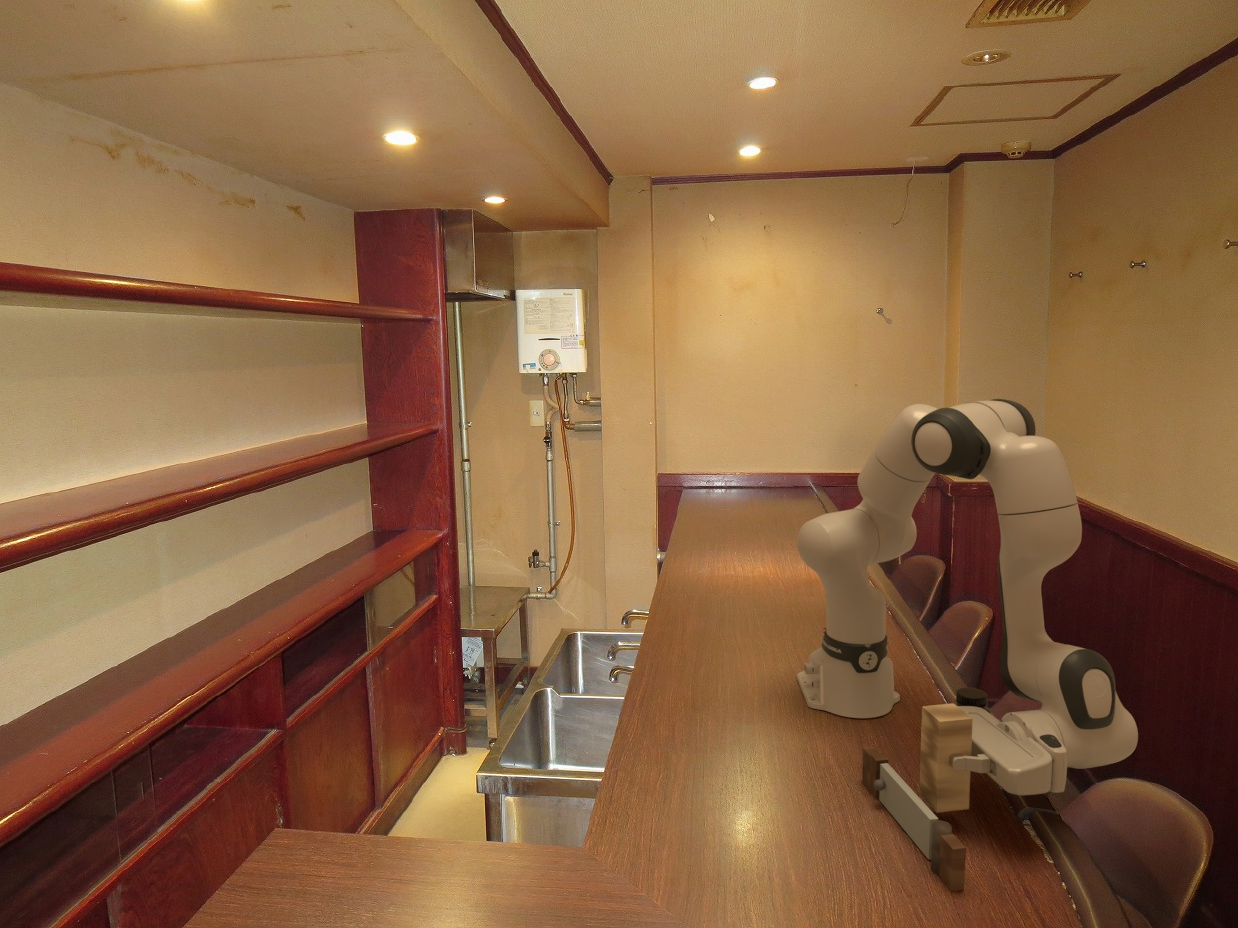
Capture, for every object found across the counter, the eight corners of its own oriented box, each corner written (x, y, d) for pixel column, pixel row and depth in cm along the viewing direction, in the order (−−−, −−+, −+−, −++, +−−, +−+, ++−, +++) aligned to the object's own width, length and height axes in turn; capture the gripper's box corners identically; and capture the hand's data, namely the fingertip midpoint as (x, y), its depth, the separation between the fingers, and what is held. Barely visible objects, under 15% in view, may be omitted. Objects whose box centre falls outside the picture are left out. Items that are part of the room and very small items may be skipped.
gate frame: (860, 782, 133) (861, 745, 132) (874, 780, 133) (875, 743, 132) (949, 891, 106) (950, 845, 105) (966, 889, 107) (968, 843, 106)
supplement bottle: (980, 748, 142) (983, 683, 140) (999, 768, 136) (1002, 700, 134) (941, 750, 142) (943, 684, 140) (958, 770, 135) (961, 702, 134)
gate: (936, 858, 113) (938, 818, 112) (917, 860, 112) (919, 820, 111) (886, 798, 127) (887, 762, 126) (869, 800, 127) (870, 764, 126)
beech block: (919, 793, 123) (922, 706, 121) (950, 790, 124) (953, 703, 121) (936, 812, 118) (939, 721, 116) (968, 808, 119) (972, 718, 117)
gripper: (986, 692, 131) (905, 700, 129) (1074, 756, 111) (980, 766, 109) (985, 729, 132) (904, 737, 130) (1071, 799, 112) (978, 809, 110)
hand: (939, 751), depth 119 cm, fingers closed on beech block, 5 cm apart
